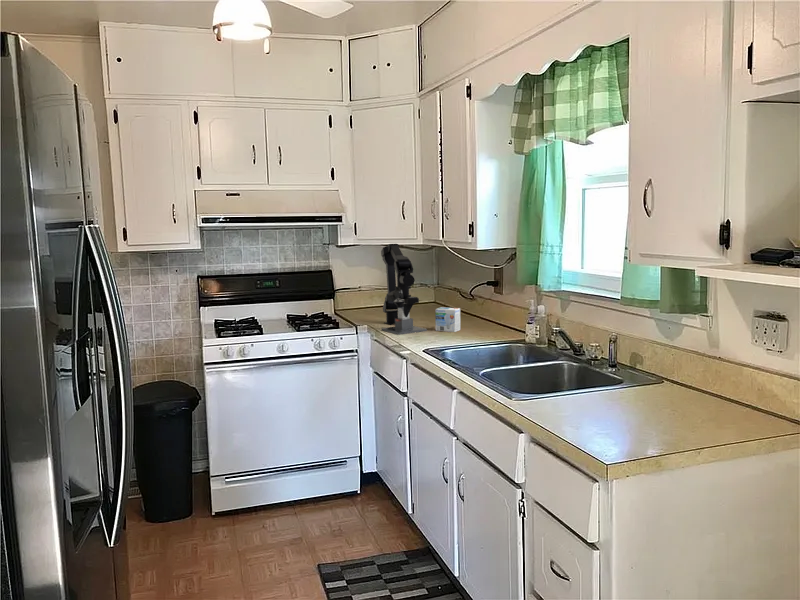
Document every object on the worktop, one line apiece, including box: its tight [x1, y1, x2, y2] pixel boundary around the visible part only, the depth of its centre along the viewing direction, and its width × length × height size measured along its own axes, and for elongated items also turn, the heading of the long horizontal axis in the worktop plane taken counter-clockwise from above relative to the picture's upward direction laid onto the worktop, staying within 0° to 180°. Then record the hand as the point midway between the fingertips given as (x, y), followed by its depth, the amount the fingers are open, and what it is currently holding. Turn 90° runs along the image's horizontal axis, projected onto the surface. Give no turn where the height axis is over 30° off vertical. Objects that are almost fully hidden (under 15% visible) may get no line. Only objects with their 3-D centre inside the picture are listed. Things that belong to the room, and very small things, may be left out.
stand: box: [381, 317, 428, 336], centre depth 328 cm, size 16×16×6 cm
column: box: [398, 307, 411, 320], centre depth 328 cm, size 4×4×10 cm
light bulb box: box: [434, 306, 461, 333], centre depth 326 cm, size 11×7×11 cm, turn 62°
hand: (403, 316), depth 328 cm, fingers closed on column, 4 cm apart
